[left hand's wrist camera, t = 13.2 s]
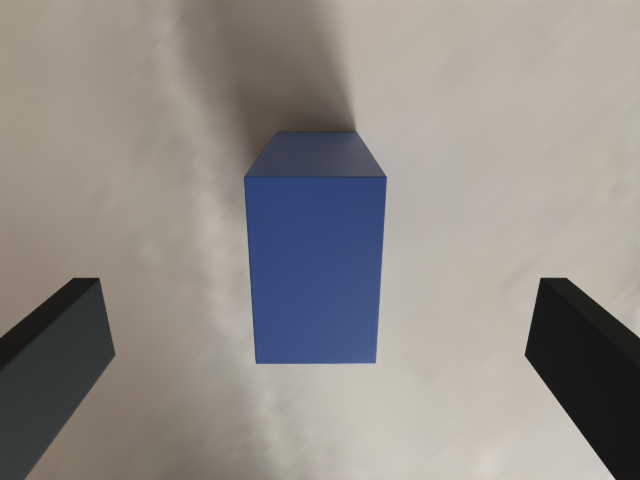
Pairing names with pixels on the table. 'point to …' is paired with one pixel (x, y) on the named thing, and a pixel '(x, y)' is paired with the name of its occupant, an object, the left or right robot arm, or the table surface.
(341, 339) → the block
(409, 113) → the table surface
